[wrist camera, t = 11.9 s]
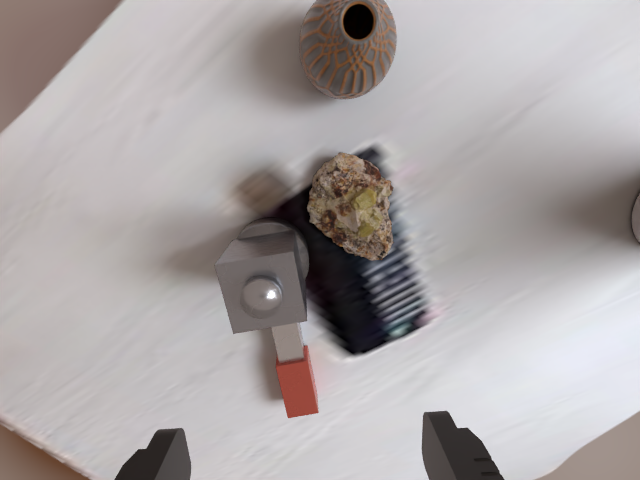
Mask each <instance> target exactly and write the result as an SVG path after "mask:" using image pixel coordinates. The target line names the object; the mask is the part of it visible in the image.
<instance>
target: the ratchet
mask: <svg viewBox="0 0 640 480" xmlns="http://www.w3.org/2000/svg"><path fill="white" fill-rule="evenodd" d="M294 229H295V233H296V238H297V243H298V248H299V253H300V259H301V264H302V269H303V274H304V280H305V278H306V276H307V273H308V268H309V256H308V246H307V242H306V240H305V237H304V236H303V234H302V233H301V231H300V230H299V229H298V228H297V227H296V226H295V225H293V224H292V223H290V222H288V221H286V220H284V219H280V218H274V217H268V218H262V219H258V220H256V221H254V222H252V223H250V224H249V225H248V226H246V227H245V228H244V229H243V231H242V232H241V233H240V235H239V236H238V238H237V239H242V238H248V237H253V236H259V235H265V234H271V233H277V232H283V231H288V230H294ZM271 329H272V333H273V338H274V342H275V346H276V351H277V360H276V370H277V374H278V378H279V383H280V387H281V391H282V395H283V399H284V404H285V408H286V412H287V416H288V418H292V417H298V416H303V415H309V414H315V413H318V400H317V391H316V386H315V381H314V376H313V371H312V366H311V361H310V356H309V351H308V346H304V343H303V338H302V333H301V328H300V323H293V324H287V325H281V326H276V327H271Z"/></svg>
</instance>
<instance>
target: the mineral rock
mask: <svg viewBox="0 0 640 480" xmlns="http://www.w3.org/2000/svg"><path fill="white" fill-rule="evenodd" d="M312 182H313V184H312V188H311V191H310V192H309V203H308V206H307V210H308V212H310V220H309V221H310V223H313V224H314V225H315V226H316V227H317V228H318V229H319V230H322V233H324V235H325V236H328V237H330V238H332V240H333V242H334V243H336V244H337V245H338V246H340V247H344V250H345V252H348V253H351V254H354V255H355V256H357V255H360V256H361V257H365V258H367V259H369V260H372V261H374V260H382V258H383V257H385V256H386V255H387V253H388V251H389V250H390V248H391V245H392V244H393V243H394V242H393V241H392V240H393V236H392V232H391V229H392V227H391V225H392V223H391V221H390V220H389V216H388V209H389V204H390V202H389V201H388V196H389V195H391V193H392V191H393V187H392V186H391V181H388V180H385V178H383V177H381V175H380V172H379V169H378V168H377V167H375V166H374V165H373V164H372V163H371V162H370V161H368V160H363V159H360V158H358V157H357V156H354V155H350V154H346V153H339V154H338V155H337V156H335V158H333V159H332V160H331V161H330V162H324V164H323V165H322V168H321V169H319V170H318V171H317V173H316V174H315V175H314V177H313V180H312Z"/></svg>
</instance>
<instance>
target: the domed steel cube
mask: <svg viewBox="0 0 640 480" xmlns="http://www.w3.org/2000/svg"><path fill="white" fill-rule="evenodd" d="M215 268H216V272H217V276H218V279H219V283H220V287H221V290H222V294H223V298H224V301H225V305H226V309H227V312H228V316H229V319H230V323H231V327H232V330H233V334H236V333H241V332H247V331H253V330H259V329H264V328H270V327H276V326H281V325H287V324H293V323H299V322H304V321H307V306H306V285H305V280H304V274H303V269H302V264H301V259H300V253H299V248H298V243H297V238H296V233H295V229H294V230H288V231H283V232H277V233H271V234H265V235H259V236H253V237H248V238H242V239H236V240H232V241H231V243H230V244H229V246H228V247H227V248H226V250H225V251H224V253H223V254H222V255H221V257H220V258H219V260H218V261H217V262H216V264H215Z"/></svg>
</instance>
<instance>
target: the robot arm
mask: <svg viewBox="0 0 640 480" xmlns="http://www.w3.org/2000/svg"><path fill="white" fill-rule="evenodd" d="M632 229H633V232H634V235H635V237H636V238H637V240H638V241H639V242H640V194H639V196H638V198H637V200H636V202H635V205H634V208H633V212H632ZM422 455H423V461H424V465H425V469H426V472H427V474H428V477H429V480H504V478H503V477H502V475H500V473H499V470H498V468H497V466H496V465H495V463H494V461H492V459H491V456H490V455H489V453H488V451H487V449H486V448H485V446H484V444H483V443H482V441H481V440H480V439H479V438H478V437H477V436H476V435H474V434H473V433H472V432H471V431H470V430H469V429H468V428H457V427H456V425H455V423H454V421H453V419H452V417H451V416H450V414H449V413H448V412H447V411H438V412H425V413H424V415H423V432H422ZM190 475H191V461H190V456H189V452H188V447H187V442H186V437H185V433H184V430H183V429H182V428H176V429H161V430H158V431H156V433H155V434H154V436H153V438H152V440H151V441H150V443H149V445H148V447H147V449H138V450H137V451H136V452H135V454H134V455H133V456H132V457H131V458H130V459H129V460H128V461H127V462H126V463H125V464H124V465H123V466H122V468H121V469H120V471H119V473H118V475H117V476H116V478H115V480H190Z"/></svg>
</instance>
